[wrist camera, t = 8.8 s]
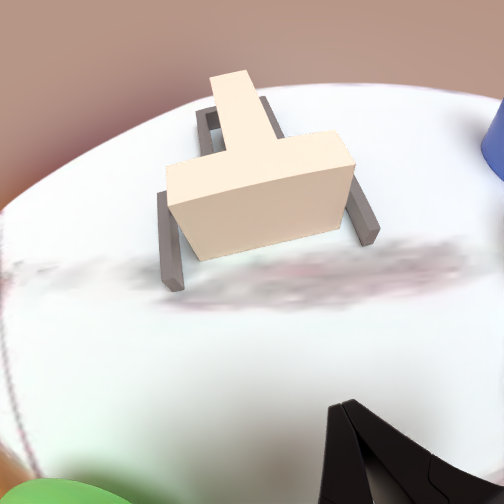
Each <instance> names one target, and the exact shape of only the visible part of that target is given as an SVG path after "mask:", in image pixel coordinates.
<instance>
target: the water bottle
mask: <svg viewBox="0 0 504 504" xmlns="http://www.w3.org/2000/svg"><path fill="white" fill-rule="evenodd" d="M481 150H482V153H483V156H484V158H485V160H486V161H487V163H488V165H489V166H490V167H491V169H492V170H493V171H494V172H495V173H496V174H497V175H498V176H499V177H500V178H501V179H502V180H503V181H504V98H503V101H502V103H501V105H500V107H499V109H498V111H497V113H496V115H495V118H494V120H493V122H492V124H491V126H490V128H489V130H488V132H487V134H486V136H485V137H484V139H483V141H482V144H481Z"/></svg>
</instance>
